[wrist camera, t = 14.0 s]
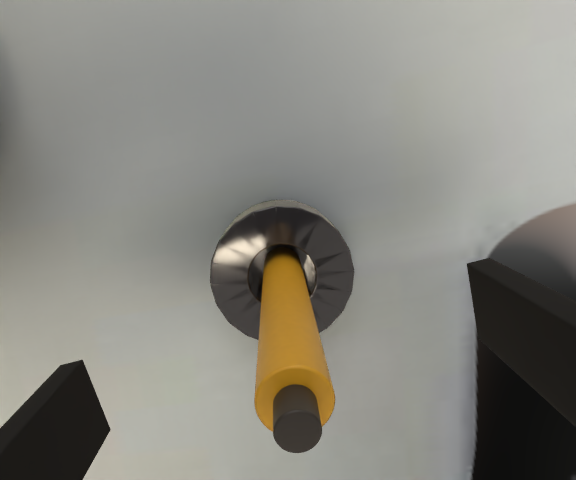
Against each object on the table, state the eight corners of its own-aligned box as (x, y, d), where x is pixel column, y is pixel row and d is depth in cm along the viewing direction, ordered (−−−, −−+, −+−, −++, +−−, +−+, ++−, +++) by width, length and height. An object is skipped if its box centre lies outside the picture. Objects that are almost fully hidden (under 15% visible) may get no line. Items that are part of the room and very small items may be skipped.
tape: (201, 217, 24) (192, 226, 21) (328, 185, 24) (336, 190, 21) (236, 334, 26) (232, 358, 23) (355, 305, 26) (366, 325, 23)
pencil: (259, 252, 24) (241, 404, 10) (295, 243, 24) (332, 382, 10) (269, 286, 25) (265, 480, 10) (304, 277, 25) (351, 459, 10)
